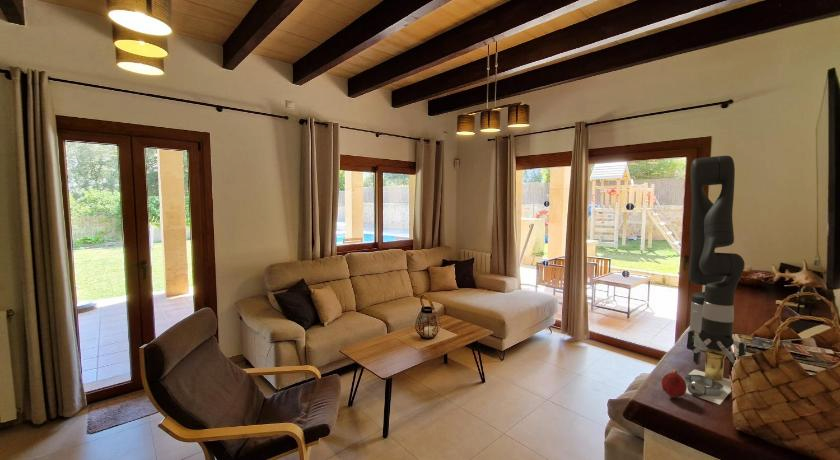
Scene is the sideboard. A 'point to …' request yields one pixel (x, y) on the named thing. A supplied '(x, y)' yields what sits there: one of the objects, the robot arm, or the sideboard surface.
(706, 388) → the grey octagonal ring
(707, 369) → the knob
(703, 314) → the robot arm
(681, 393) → the onion
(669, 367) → the sideboard surface
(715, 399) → the board
